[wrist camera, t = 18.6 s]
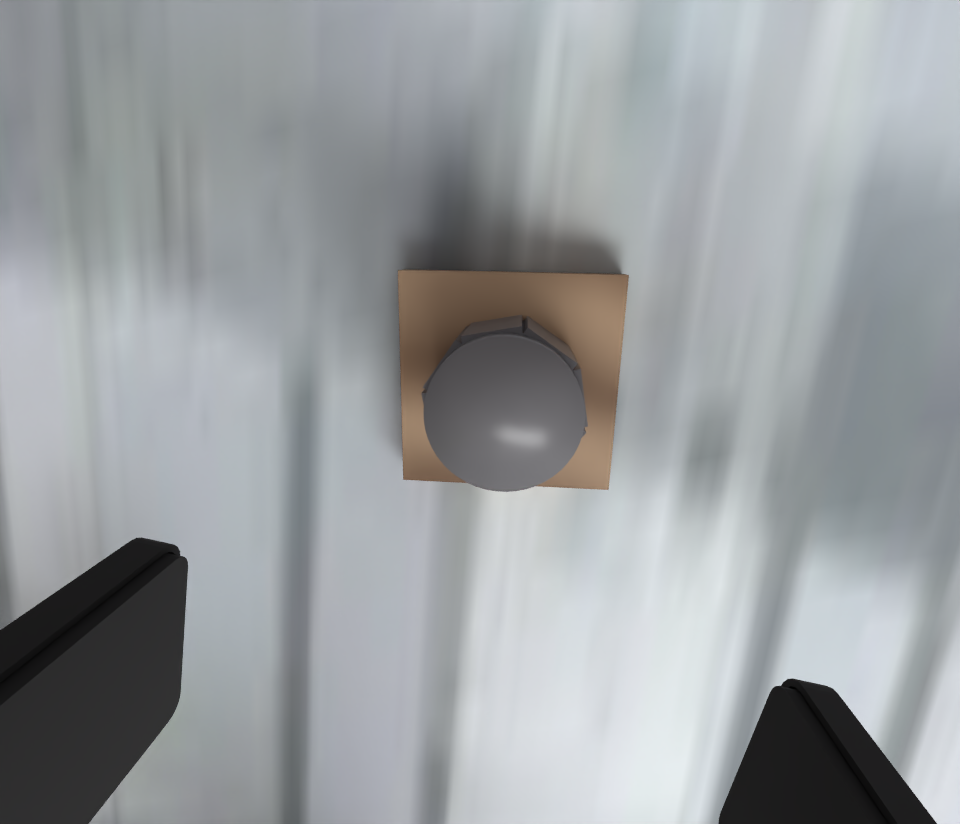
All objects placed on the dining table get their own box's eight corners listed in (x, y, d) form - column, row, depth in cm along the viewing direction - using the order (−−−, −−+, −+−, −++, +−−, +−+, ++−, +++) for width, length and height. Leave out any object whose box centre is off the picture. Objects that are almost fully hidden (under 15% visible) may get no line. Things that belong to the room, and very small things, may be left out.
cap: (415, 399, 25) (390, 433, 20) (491, 289, 23) (483, 298, 19) (522, 472, 26) (521, 522, 21) (603, 370, 24) (623, 400, 19)
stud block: (603, 477, 27) (621, 526, 22) (409, 467, 28) (385, 513, 23) (622, 273, 24) (647, 278, 19) (405, 269, 25) (376, 273, 20)
